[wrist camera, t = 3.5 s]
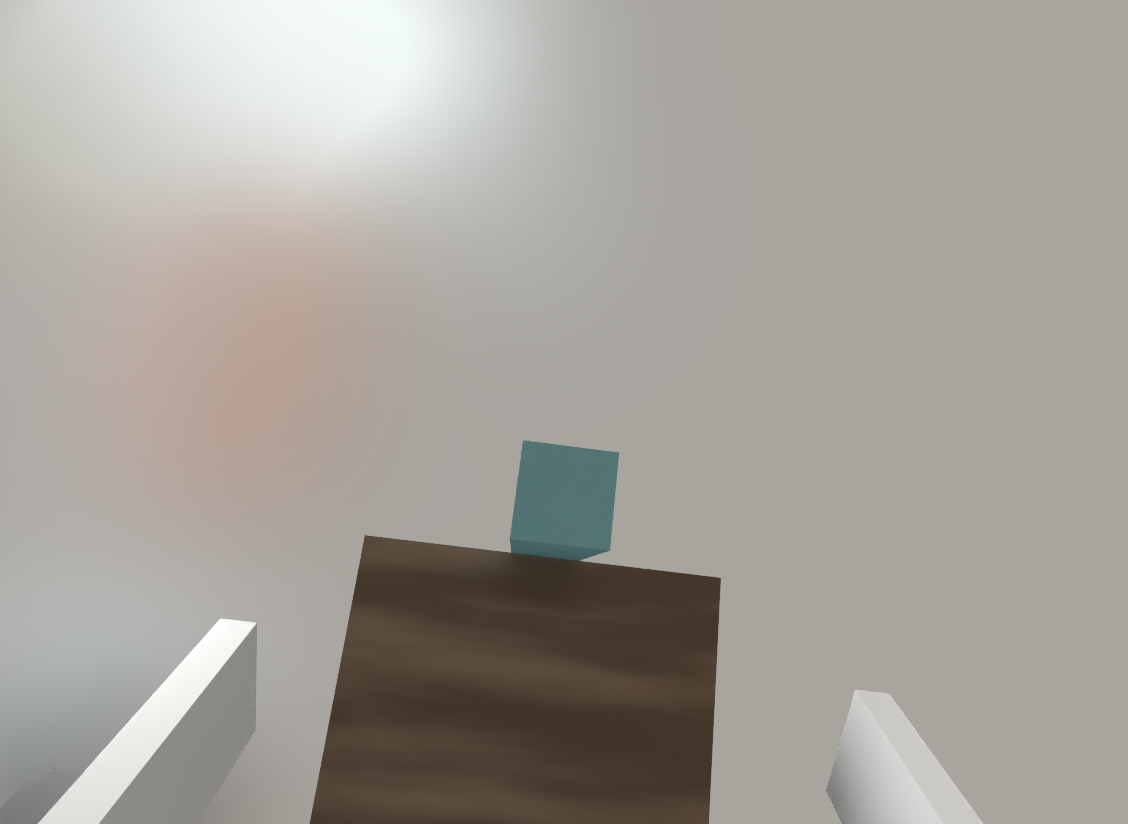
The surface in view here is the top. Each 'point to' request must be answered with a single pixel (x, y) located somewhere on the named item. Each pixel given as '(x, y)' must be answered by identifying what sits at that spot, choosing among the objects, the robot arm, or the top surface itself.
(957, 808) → the robot arm
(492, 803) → the stand
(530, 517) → the bar
